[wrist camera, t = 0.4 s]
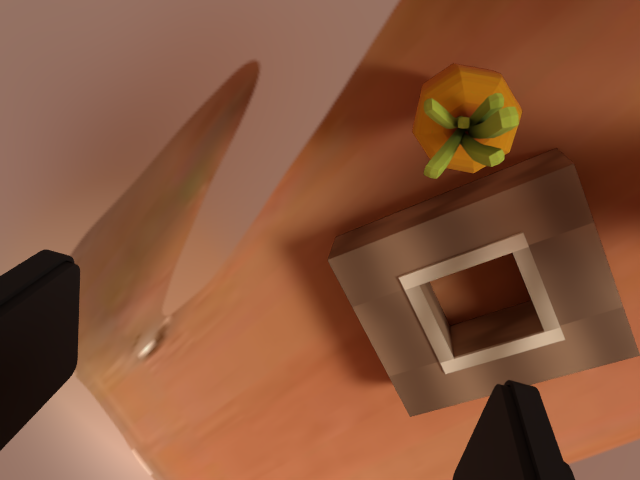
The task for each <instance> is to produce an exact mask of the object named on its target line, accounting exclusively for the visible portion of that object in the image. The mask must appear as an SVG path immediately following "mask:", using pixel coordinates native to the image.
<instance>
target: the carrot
mask: <svg viewBox="0 0 640 480" xmlns="http://www.w3.org/2000/svg"><path fill="white" fill-rule="evenodd" d="M522 112H523V111H522V109H521V107H520V106H519V104H518V102H517V100H516V99H515V97H514V95H513V94H512V92H511V90H510V88H509V87H508V85H507V83H506V82H505V80H504V78H503V76H502V75H501V74H500V73H498V72H496V71H492V70H488V69H482V68H477V67H471V66H465V65H460V64H454V63H453V64H451V65H450V66H448V67H447V68H446V69H444V70H443V71H441V72H440V73H438V74H437V75H435V76H434V77H432V78H431V79H430V80H428V81H427V82H425V83H424V84H423V85H422V89H421V93H420V97H419V102H418V106H417V110H416V115H415V119H414V123H413V129H412V132H413V134H414V136H415V137H416V139H417V140H418V142H419V143H420V145H421V146H422V148H423V150H424V151H425V153H426V154H427V156H428V157H429V159H430V161H429V162H428V164H427V165H426V167H425V169H424V175H425V176H427V177H429V178H434V179H437V178H438V177H439V176H440V175H441V174H442V172H443V171H444V170H445V169H446V168H448V169H453V170H458V171H463V172H469V173H475V172H477V171H479V170H480V169H482V168H484V167H485V166H490V167H493V166H495V165H498V164H500V163H501V162H502V161H503V160H504V156H505V155H506V154H507V153H509V152H510V150H511V146H512V143H513V140H514V137H515V134H516V131H517V127H518V125H519V121H520V118H521V115H522Z"/></svg>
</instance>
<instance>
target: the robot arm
mask: <svg viewBox="0 0 640 480" xmlns="http://www.w3.org/2000/svg"><path fill="white" fill-rule="evenodd" d="M79 291H80V268H79V266H78V265H76V264H74V260H73V258H72V257H71V256H68V255H65V254H61V253H58V252H54V251H50V250H42V251H40V252H38V253H37V254H35V255H34V256H32V257H30V258H29V259H27V260H25V261H24V262H22V263H21V264H19V265H17V266H16V267H14V268H13V269H11V270H9V271H8V272H6V273H5V274H3V275H1V276H0V450H2V448H3V447H4V446H5V445H6V444H7V443H8V442H9V441H10V440H11V439H12V438H13V437H14V436H15V435H16V434H17V433H18V432H19V431H20V430H21V429H22V427H23V426H24V425H25V424H26V423H27V422H28V421H29V420H30V419H31V418H32V417H33V416H34V415H35V414H36V413H37V412H38V411H39V410H40V409H41V408H42V406H43V405H44V404H45V403H46V402H47V401H48V400H49V399H50V398H51V397H52V396H53V395H54V394H55V393H56V392H57V391H58V390H59V389H60V388H61V387H62V385H63V384H64V383H65V382H66V381H67V380H68V379H69V378H70V376H72V374H73V372H74V370H75V368H76V365H77V358H78V325H79ZM453 480H575V478H574V475H573V472H572V470H571V469H570V467H569V465H568V464H567V463H565V462H564V461H563V458H562V456H561V453H560V450H559V447H558V444H557V441H556V439H555V436H554V433H553V430H552V427H551V425H550V422H549V419H548V416H547V413H546V410H545V408H544V405H543V402H542V399H541V396H540V393H539V391H538V389H537V388H536V387H533V386H530V385H526V384H523V383H519V382H516V381H512V380H507V381H506V382H505V383H504V385H501V384H497V385H496V386H495V387H494V389H493V391H492V393H491V395H490V397H489V399H488V401H487V404H486V406H485V408H484V410H483V412H482V414H481V417H480V419H479V421H478V423H477V425H476V427H475V429H474V432H473V434H472V436H471V438H470V440H469V442H468V444H467V447H466V449H465V451H464V453H463V455H462V457H461V459H460V462H459V464H458V466H457V468H456V470H455V473H454V476H453Z"/></svg>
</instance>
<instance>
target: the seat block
mask: <svg viewBox="0 0 640 480" xmlns="http://www.w3.org/2000/svg"><path fill="white" fill-rule="evenodd" d="M510 253H513V256H514V258H515V261H516V263H517V266H518V268H519V270H520V273H521V275H522V278H523V280H524V283H525V285H526V288H527V290H528V293H529V295H530V298H531V301H528V302H525V303H522V304H519V305H515V306H512V307H509V308H506V309H503V310H500V311H497V312H493V313H490V314H487V315H484V316H481V317H478V318H474V319H471V320H468V321H465V322H462V323H459V324H456V325H452V326H450V325H449V323H448V321H447V319H446V316H445V314H444V312H443V310H442V308H441V306H440V304H439V301H438V299H437V297H436V295H435V293H434V291H433V289H432V286H431V284H430V281H433V280H435V279H438V278H441V277H444V276H447V275H450V274H453V273H455V272H458V271H461V270H464V269H467V268H470V267H473V266H475V265H478V264H481V263H484V262H487V261H490V260H492V259H495V258H498V257H501V256H504V255H507V254H510ZM328 262H329V264H330V266H331V268H332V270H333V272H334V273H335V275H336V277H337V279H338V281H339V283H340V285H341V287H342V289H343V290H344V292H345V294H346V296H347V298H348V300H349V302H350V304H351V306H352V308H353V309H354V311H355V313H356V315H357V317H358V319H359V321H360V323H361V325H362V326H363V328H364V330H365V332H366V334H367V336H368V338H369V340H370V342H371V344H372V345H373V347H374V349H375V351H376V353H377V355H378V357H379V359H380V361H381V363H382V364H383V366H384V368H385V370H386V372H387V374H388V376H389V378H390V380H391V381H392V383H393V385H394V387H395V389H396V391H397V393H398V395H399V397H400V399H401V400H402V402H403V404H404V406H405V408H406V410H407V412H408V414H409V416H410V417H412V416H415V415H419V414H423V413H427V412H430V411H434V410H438V409H442V408H445V407H449V406H453V405H457V404H460V403H464V402H468V401H472V400H475V399H479V398H483V397H487V396H490V395H491V393H492V391H493V389H494V387H495V386H496V385H497V384H501V385H504V383H505V382H506V381H507V380H512V381H516V382H519V383H523V384H526V385H532V384H535V383H539V382H543V381H547V380H550V379H554V378H558V377H562V376H566V375H569V374H573V373H577V372H581V371H584V370H588V369H592V368H596V367H599V366H603V365H607V364H611V363H614V362H618V361H622V360H626V359H629V358H633V357H637V356H640V354H639V351H638V348H637V345H636V342H635V339H634V337H633V334H632V331H631V328H630V325H629V322H628V319H627V316H626V313H625V310H624V307H623V305H622V302H621V299H620V296H619V293H618V290H617V287H616V284H615V281H614V278H613V276H612V273H611V270H610V267H609V264H608V261H607V258H606V255H605V252H604V249H603V246H602V244H601V241H600V238H599V235H598V232H597V229H596V226H595V223H594V220H593V217H592V214H591V212H590V209H589V206H588V203H587V200H586V197H585V194H584V191H583V188H582V185H581V183H580V180H579V177H578V174H577V171H576V168H575V165H574V163H573V162H571V161H570V160H569V159H568V158H567V157H566V156H565V155H564V154H563V153H562V152H560V151H559V150H558V149H557V148H555V149H553V150H550V151H548V152H546V153H543V154H541V155H538V156H536V157H533V158H531V159H528V160H526V161H523V162H521V163H518V164H516V165H513V166H511V167H508V168H506V169H503V170H501V171H498V172H496V173H494V174H491V175H489V176H486V177H484V178H481V179H479V180H476V181H474V182H471V183H469V184H466V185H464V186H461V187H459V188H456V189H454V190H451V191H449V192H446V193H444V194H442V195H439V196H437V197H434V198H432V199H429V200H427V201H424V202H422V203H419V204H417V205H414V206H412V207H409V208H407V209H404V210H402V211H399V212H397V213H394V214H392V215H390V216H387V217H385V218H382V219H380V220H377V221H375V222H372V223H370V224H367V225H365V226H362V227H360V228H357V229H355V230H352V231H350V232H347V233H345V234H342V235H340V236H338V237H336V238H335V241H334V243H333V246H332V249H331V252H330V254H329V257H328Z"/></svg>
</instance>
